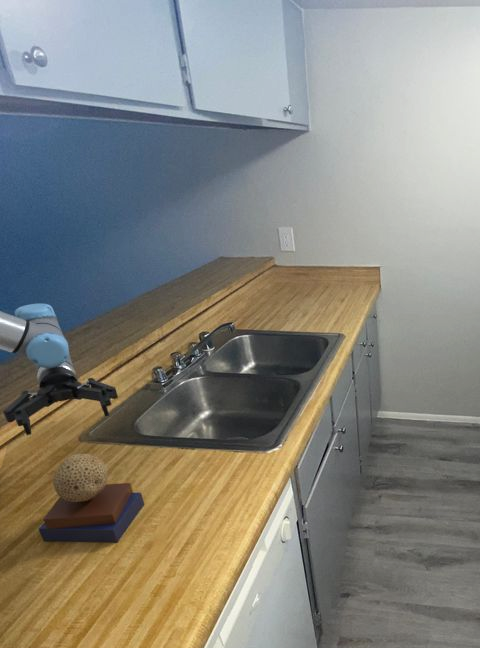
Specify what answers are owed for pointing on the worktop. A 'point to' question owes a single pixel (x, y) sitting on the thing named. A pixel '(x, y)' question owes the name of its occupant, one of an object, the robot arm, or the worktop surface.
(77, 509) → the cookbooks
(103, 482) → the natural sponge
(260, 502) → the worktop surface
